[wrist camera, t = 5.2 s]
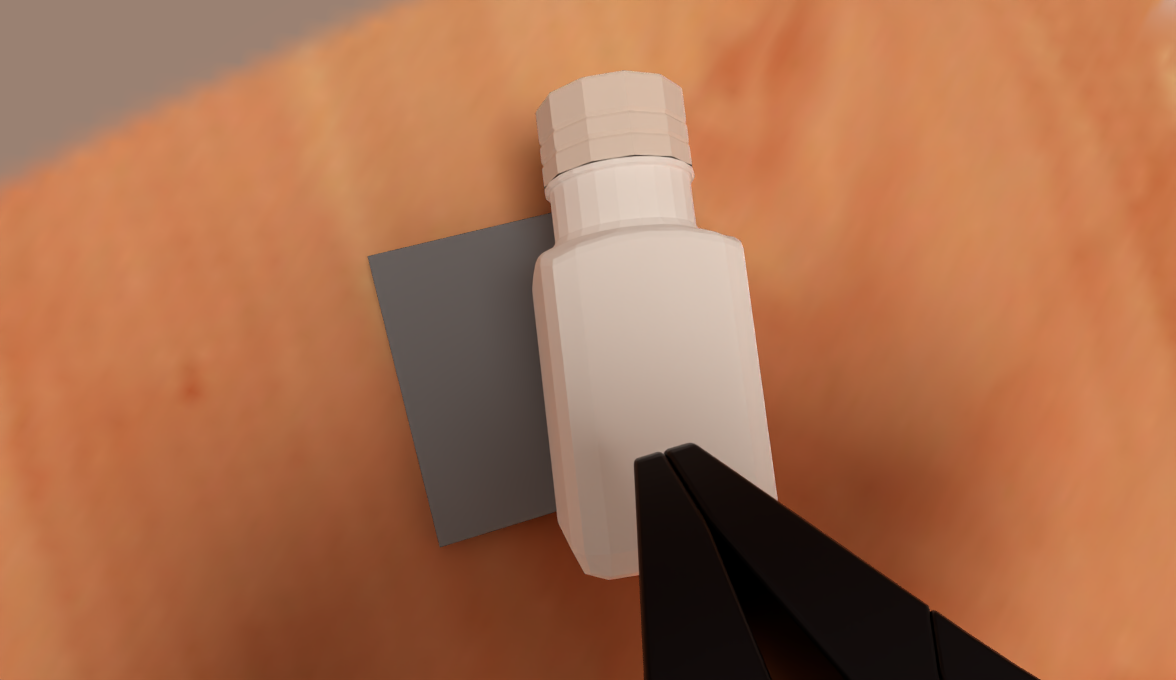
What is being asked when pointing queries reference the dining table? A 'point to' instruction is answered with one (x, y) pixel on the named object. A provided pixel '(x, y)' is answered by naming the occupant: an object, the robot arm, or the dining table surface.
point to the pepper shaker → (635, 312)
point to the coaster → (472, 373)
